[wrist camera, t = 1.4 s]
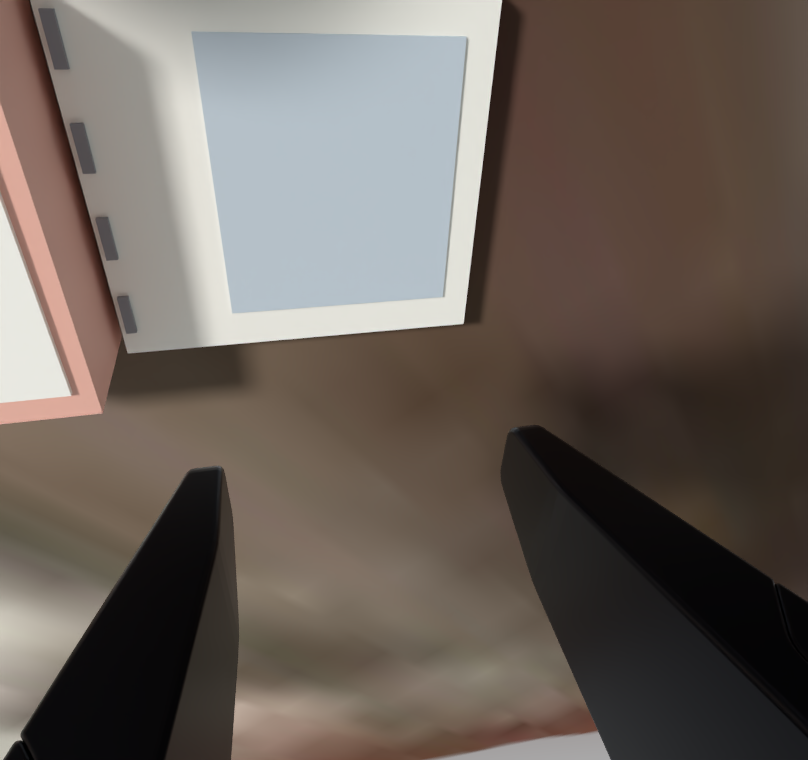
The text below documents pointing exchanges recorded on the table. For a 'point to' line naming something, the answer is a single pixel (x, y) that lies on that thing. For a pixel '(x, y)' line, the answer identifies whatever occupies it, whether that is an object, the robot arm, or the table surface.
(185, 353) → the table surface
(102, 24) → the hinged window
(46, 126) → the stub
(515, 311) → the table surface
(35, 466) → the table surface
